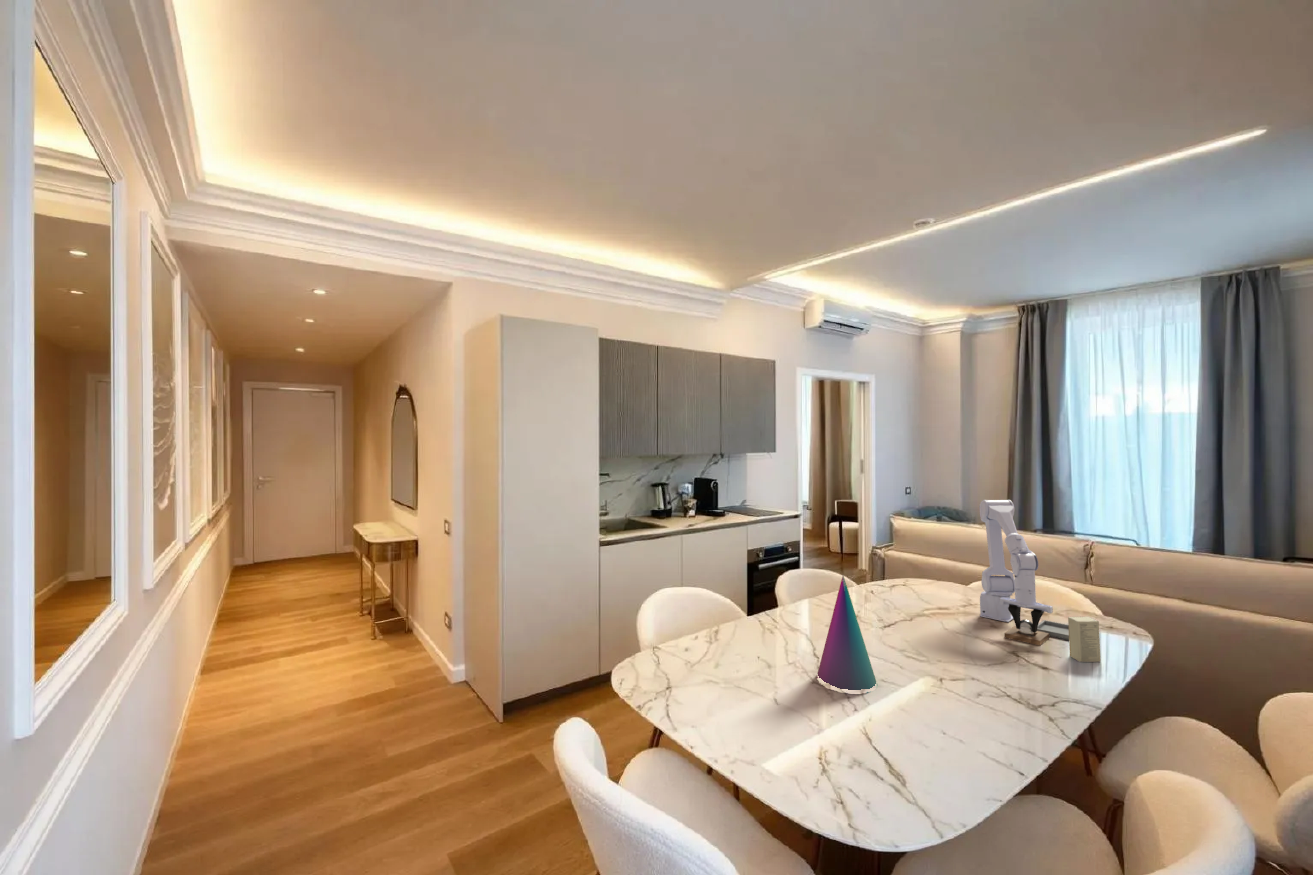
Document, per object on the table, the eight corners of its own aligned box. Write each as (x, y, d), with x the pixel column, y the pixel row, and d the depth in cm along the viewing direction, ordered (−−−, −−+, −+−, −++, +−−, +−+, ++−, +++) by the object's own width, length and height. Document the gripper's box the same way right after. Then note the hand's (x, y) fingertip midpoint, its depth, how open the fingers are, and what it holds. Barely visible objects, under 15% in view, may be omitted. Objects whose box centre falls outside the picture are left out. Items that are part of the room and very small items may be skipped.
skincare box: (1090, 656, 161) (1089, 616, 161) (1101, 662, 156) (1100, 621, 156) (1068, 656, 161) (1067, 616, 161) (1078, 662, 157) (1077, 620, 157)
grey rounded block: (1017, 637, 177) (1017, 619, 177) (1021, 634, 180) (1021, 616, 180) (1032, 640, 174) (1031, 622, 174) (1035, 637, 177) (1035, 619, 177)
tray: (1033, 632, 181) (1033, 627, 181) (1043, 624, 189) (1043, 619, 189) (1077, 641, 172) (1076, 636, 172) (1086, 632, 180) (1086, 628, 180)
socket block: (1004, 637, 178) (1004, 632, 178) (1014, 630, 184) (1014, 625, 184) (1040, 645, 170) (1039, 640, 170) (1049, 637, 176) (1049, 633, 176)
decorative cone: (873, 671, 154) (870, 568, 154) (881, 697, 138) (877, 582, 139) (815, 666, 158) (812, 566, 159) (817, 691, 143) (813, 579, 143)
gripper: (996, 587, 180) (997, 627, 180) (1047, 595, 169) (1049, 638, 169) (1003, 583, 185) (1004, 622, 185) (1053, 591, 174) (1055, 633, 173)
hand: (1026, 629), depth 177 cm, fingers closed on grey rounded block, 4 cm apart
